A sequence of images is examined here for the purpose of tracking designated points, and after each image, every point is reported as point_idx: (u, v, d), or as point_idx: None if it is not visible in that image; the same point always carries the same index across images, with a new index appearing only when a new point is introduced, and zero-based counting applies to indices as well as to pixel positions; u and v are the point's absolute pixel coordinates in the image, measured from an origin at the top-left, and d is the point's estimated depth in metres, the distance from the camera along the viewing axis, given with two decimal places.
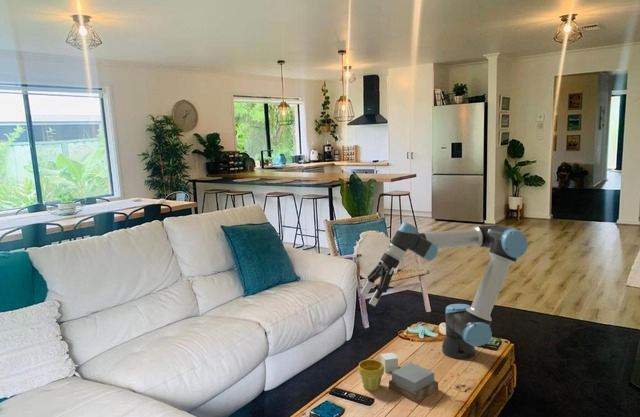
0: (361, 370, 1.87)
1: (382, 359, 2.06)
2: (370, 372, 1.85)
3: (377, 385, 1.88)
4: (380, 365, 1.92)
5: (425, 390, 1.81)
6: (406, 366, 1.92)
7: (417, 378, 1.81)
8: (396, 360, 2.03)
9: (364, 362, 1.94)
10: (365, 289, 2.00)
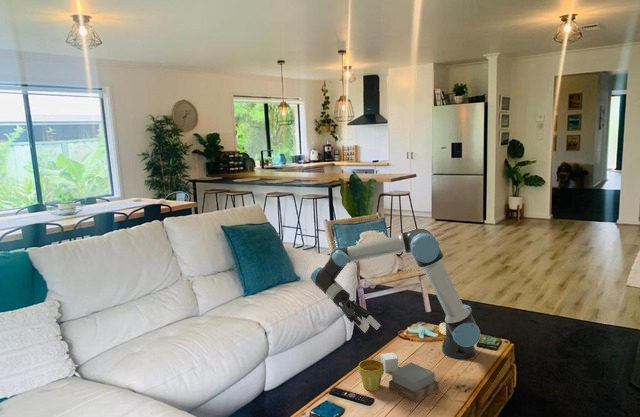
0: (361, 370, 1.87)
1: (382, 359, 2.06)
2: (370, 372, 1.85)
3: (377, 385, 1.88)
4: (380, 365, 1.92)
5: (425, 391, 1.81)
6: (406, 366, 1.92)
7: (417, 378, 1.82)
8: (396, 360, 2.03)
9: (364, 362, 1.94)
10: (373, 324, 2.00)
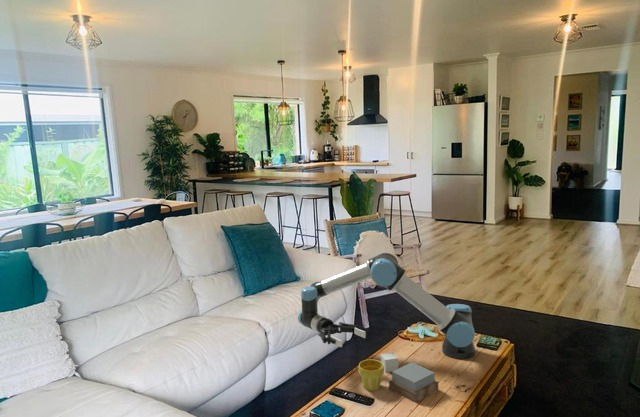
0: (361, 370, 1.87)
1: (382, 359, 2.06)
2: (370, 372, 1.85)
3: (377, 385, 1.88)
4: (380, 365, 1.92)
5: (425, 390, 1.81)
6: (407, 366, 1.92)
7: (417, 378, 1.82)
8: (396, 360, 2.03)
9: (364, 362, 1.94)
10: (360, 334, 2.02)
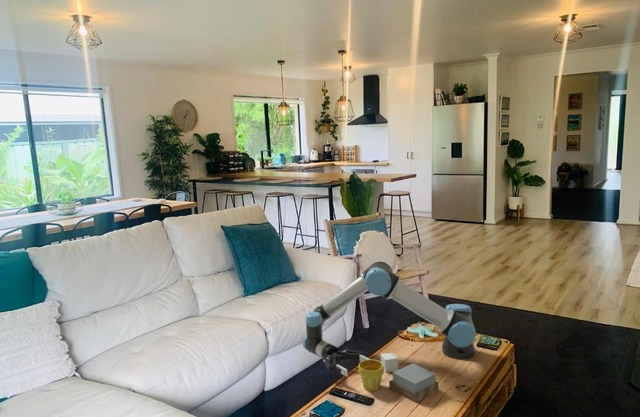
0: (361, 370, 1.87)
1: (382, 359, 2.06)
2: (370, 372, 1.85)
3: (377, 385, 1.88)
4: (380, 365, 1.92)
5: (425, 391, 1.81)
6: (408, 367, 1.91)
7: (418, 379, 1.81)
8: (396, 360, 2.03)
9: (364, 362, 1.94)
10: None
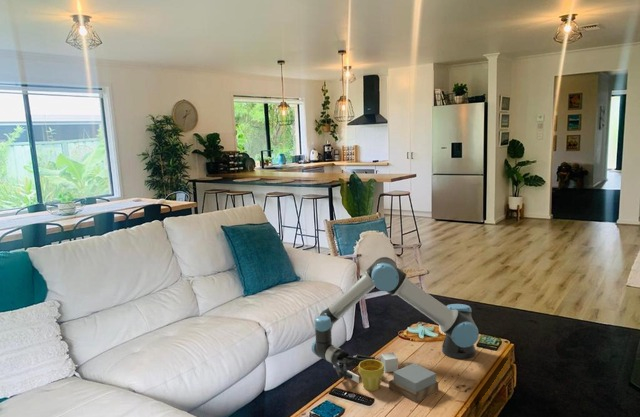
0: (361, 370, 1.87)
1: (382, 359, 2.06)
2: (370, 372, 1.85)
3: (377, 385, 1.88)
4: (380, 365, 1.92)
5: (425, 391, 1.81)
6: (408, 366, 1.92)
7: (418, 379, 1.81)
8: (396, 360, 2.03)
9: (364, 362, 1.94)
10: None
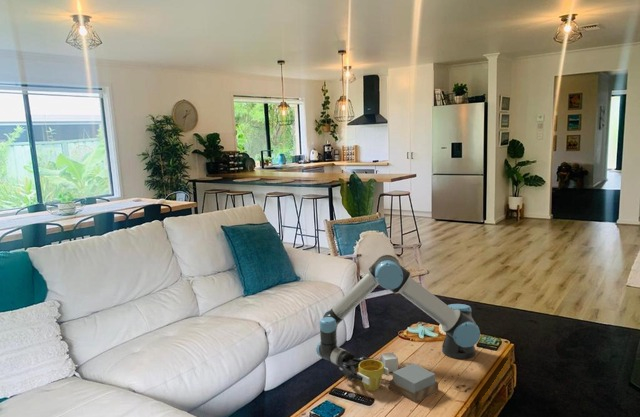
0: (361, 370, 1.87)
1: (382, 359, 2.06)
2: (370, 372, 1.85)
3: (377, 385, 1.88)
4: (380, 365, 1.92)
5: (425, 390, 1.81)
6: (408, 366, 1.91)
7: (417, 379, 1.81)
8: (396, 360, 2.03)
9: (364, 362, 1.94)
10: None
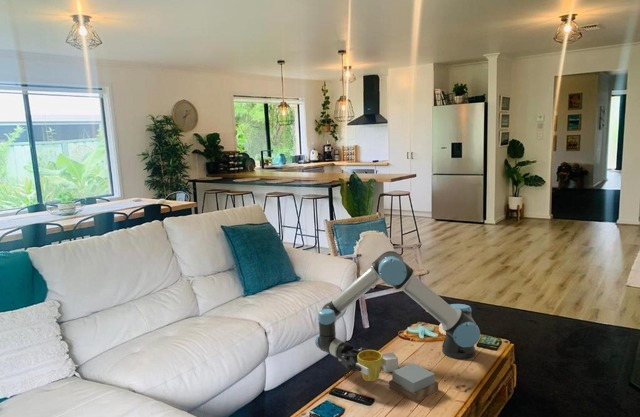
0: (360, 360, 1.86)
1: None
2: (369, 362, 1.84)
3: (376, 375, 1.87)
4: (379, 355, 1.91)
5: (425, 390, 1.81)
6: (407, 366, 1.92)
7: (416, 378, 1.81)
8: (396, 360, 2.03)
9: (363, 353, 1.93)
10: None
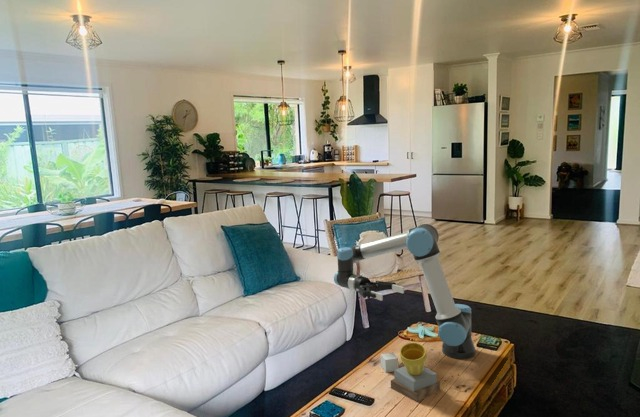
0: (401, 357, 1.82)
1: (382, 359, 2.06)
2: (410, 361, 1.79)
3: (419, 371, 1.83)
4: (423, 350, 1.84)
5: (426, 390, 1.81)
6: None
7: (417, 378, 1.82)
8: (396, 360, 2.03)
9: (407, 346, 1.87)
10: (398, 290, 2.06)
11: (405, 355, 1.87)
